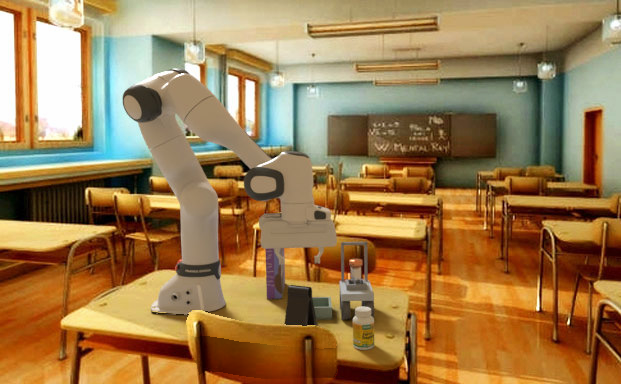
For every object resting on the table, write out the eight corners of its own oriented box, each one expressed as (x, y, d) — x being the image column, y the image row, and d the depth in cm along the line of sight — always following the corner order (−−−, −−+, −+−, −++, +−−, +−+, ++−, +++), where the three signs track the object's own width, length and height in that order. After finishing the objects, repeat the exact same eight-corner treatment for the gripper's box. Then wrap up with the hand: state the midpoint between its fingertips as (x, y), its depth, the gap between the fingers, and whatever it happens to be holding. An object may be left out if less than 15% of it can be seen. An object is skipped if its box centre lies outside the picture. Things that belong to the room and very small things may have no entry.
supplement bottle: (364, 340, 138) (364, 303, 137) (378, 346, 134) (378, 309, 132) (348, 345, 135) (348, 308, 134) (362, 352, 131) (362, 314, 129)
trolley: (342, 322, 151) (341, 252, 148) (339, 306, 165) (338, 241, 162) (374, 322, 151) (373, 251, 148) (369, 305, 165) (368, 241, 162)
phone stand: (303, 336, 141) (302, 292, 140) (283, 333, 143) (282, 289, 142) (317, 325, 149) (316, 282, 148) (297, 322, 152) (296, 280, 150)
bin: (298, 319, 153) (298, 307, 153) (299, 308, 163) (299, 297, 163) (332, 319, 153) (331, 307, 153) (331, 308, 163) (330, 296, 163)
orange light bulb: (349, 289, 155) (349, 261, 154) (349, 285, 159) (348, 258, 158) (363, 288, 155) (362, 261, 154) (361, 285, 159) (361, 258, 158)
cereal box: (281, 299, 172) (279, 225, 170) (266, 299, 173) (264, 225, 170) (285, 283, 190) (283, 216, 187) (271, 283, 190) (269, 216, 187)
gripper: (257, 215, 139) (259, 267, 141) (336, 213, 139) (337, 265, 141) (259, 211, 146) (262, 261, 147) (335, 209, 145) (336, 259, 147)
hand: (299, 263), depth 144 cm, fingers open, 8 cm apart
